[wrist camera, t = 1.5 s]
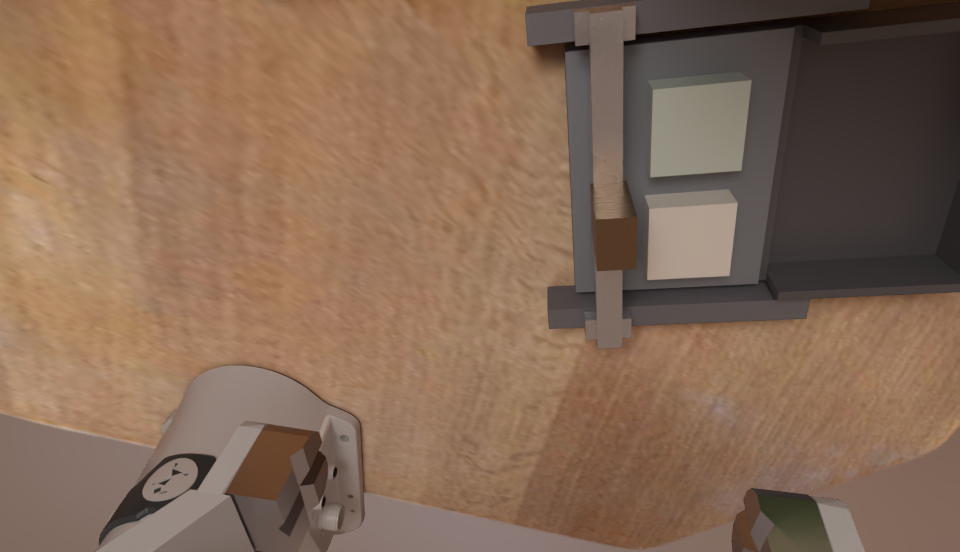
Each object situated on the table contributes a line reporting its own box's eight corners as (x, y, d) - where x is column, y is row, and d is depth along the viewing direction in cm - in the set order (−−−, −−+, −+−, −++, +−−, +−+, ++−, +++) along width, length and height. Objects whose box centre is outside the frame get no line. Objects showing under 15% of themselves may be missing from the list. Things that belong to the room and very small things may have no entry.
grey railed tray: (790, 293, 41) (806, 318, 39) (548, 304, 44) (549, 328, 41) (848, -32, 31) (875, -27, 28) (526, 6, 33) (525, 14, 31)
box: (939, 258, 39) (976, 291, 36) (749, 268, 41) (767, 300, 37) (1024, -5, 31) (1083, 5, 27) (782, 21, 33) (809, 34, 29)
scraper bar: (627, 319, 41) (642, 396, 35) (584, 321, 42) (591, 397, 35) (630, 0, 31) (653, 23, 24) (572, 6, 31) (579, 31, 25)
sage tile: (731, 158, 35) (741, 170, 33) (645, 164, 36) (650, 177, 34) (741, 71, 32) (751, 80, 31) (647, 80, 33) (652, 89, 31)
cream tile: (721, 259, 38) (729, 276, 37) (642, 264, 39) (647, 280, 37) (728, 189, 36) (737, 202, 34) (644, 195, 37) (649, 208, 35)
